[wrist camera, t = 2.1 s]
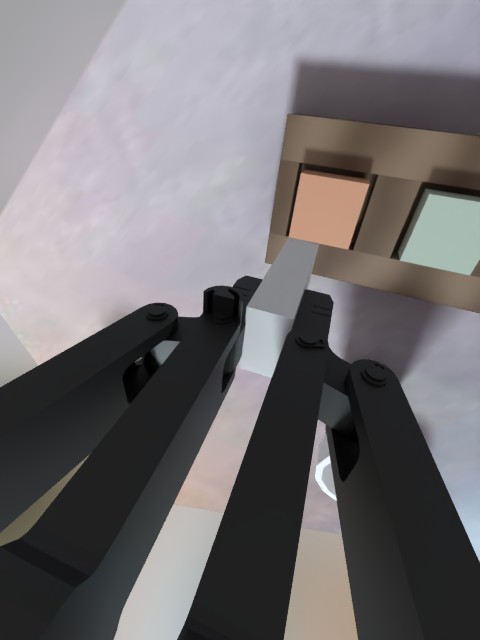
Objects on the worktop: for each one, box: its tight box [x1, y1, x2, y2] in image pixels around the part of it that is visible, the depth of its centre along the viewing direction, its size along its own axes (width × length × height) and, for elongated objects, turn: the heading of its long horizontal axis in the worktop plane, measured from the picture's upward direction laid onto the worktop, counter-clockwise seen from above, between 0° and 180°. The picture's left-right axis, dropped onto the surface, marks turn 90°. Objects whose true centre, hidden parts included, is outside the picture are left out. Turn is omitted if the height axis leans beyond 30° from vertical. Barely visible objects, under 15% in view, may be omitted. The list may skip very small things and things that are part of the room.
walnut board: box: [265, 114, 480, 313], centre depth 24 cm, size 27×12×3 cm, turn 85°
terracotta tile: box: [289, 169, 370, 249], centre depth 24 cm, size 5×5×2 cm
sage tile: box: [398, 188, 480, 275], centre depth 22 cm, size 5×5×2 cm
